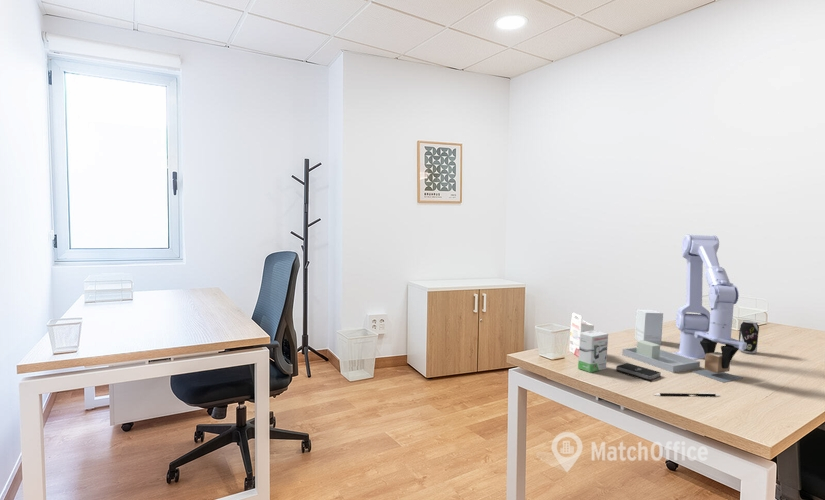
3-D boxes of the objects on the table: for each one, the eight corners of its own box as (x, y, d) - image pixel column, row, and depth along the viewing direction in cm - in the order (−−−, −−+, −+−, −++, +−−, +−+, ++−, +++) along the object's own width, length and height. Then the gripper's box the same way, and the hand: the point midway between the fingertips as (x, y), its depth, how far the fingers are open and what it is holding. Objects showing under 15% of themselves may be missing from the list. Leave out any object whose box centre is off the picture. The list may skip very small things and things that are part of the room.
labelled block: (704, 369, 140) (705, 353, 139) (716, 367, 142) (717, 351, 142) (717, 373, 136) (718, 356, 136) (729, 371, 139) (730, 354, 138)
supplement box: (661, 344, 175) (664, 313, 174) (642, 344, 175) (645, 312, 174) (651, 339, 182) (654, 309, 181) (633, 339, 182) (635, 308, 181)
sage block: (644, 354, 159) (645, 340, 159) (659, 359, 154) (660, 345, 154) (636, 355, 158) (637, 341, 157) (651, 360, 152) (652, 346, 152)
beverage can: (740, 353, 166) (743, 321, 165) (735, 349, 171) (738, 318, 170) (759, 355, 164) (761, 323, 163) (753, 351, 169) (756, 320, 168)
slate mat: (710, 369, 146) (710, 367, 146) (743, 379, 137) (743, 378, 137) (690, 372, 142) (690, 371, 142) (723, 383, 133) (723, 382, 133)
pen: (720, 397, 123) (721, 393, 123) (654, 397, 122) (654, 393, 122) (718, 396, 124) (718, 392, 123) (652, 395, 123) (652, 391, 122)
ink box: (590, 373, 139) (592, 336, 138) (577, 368, 143) (579, 332, 142) (606, 368, 143) (609, 333, 142) (593, 364, 148) (595, 329, 147)
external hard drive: (650, 383, 132) (650, 376, 132) (614, 372, 141) (615, 366, 141) (661, 378, 137) (661, 372, 136) (626, 368, 145) (626, 362, 145)
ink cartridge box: (592, 358, 154) (595, 316, 153) (579, 358, 154) (581, 316, 153) (581, 350, 163) (583, 311, 162) (568, 350, 162) (570, 311, 161)
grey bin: (647, 352, 163) (648, 345, 163) (699, 369, 146) (700, 361, 146) (622, 355, 158) (622, 349, 158) (672, 373, 140) (673, 366, 140)
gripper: (689, 319, 143) (686, 359, 144) (738, 329, 130) (734, 374, 131) (703, 317, 146) (700, 357, 147) (752, 328, 133) (748, 372, 134)
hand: (717, 365), depth 139 cm, fingers closed on labelled block, 4 cm apart
